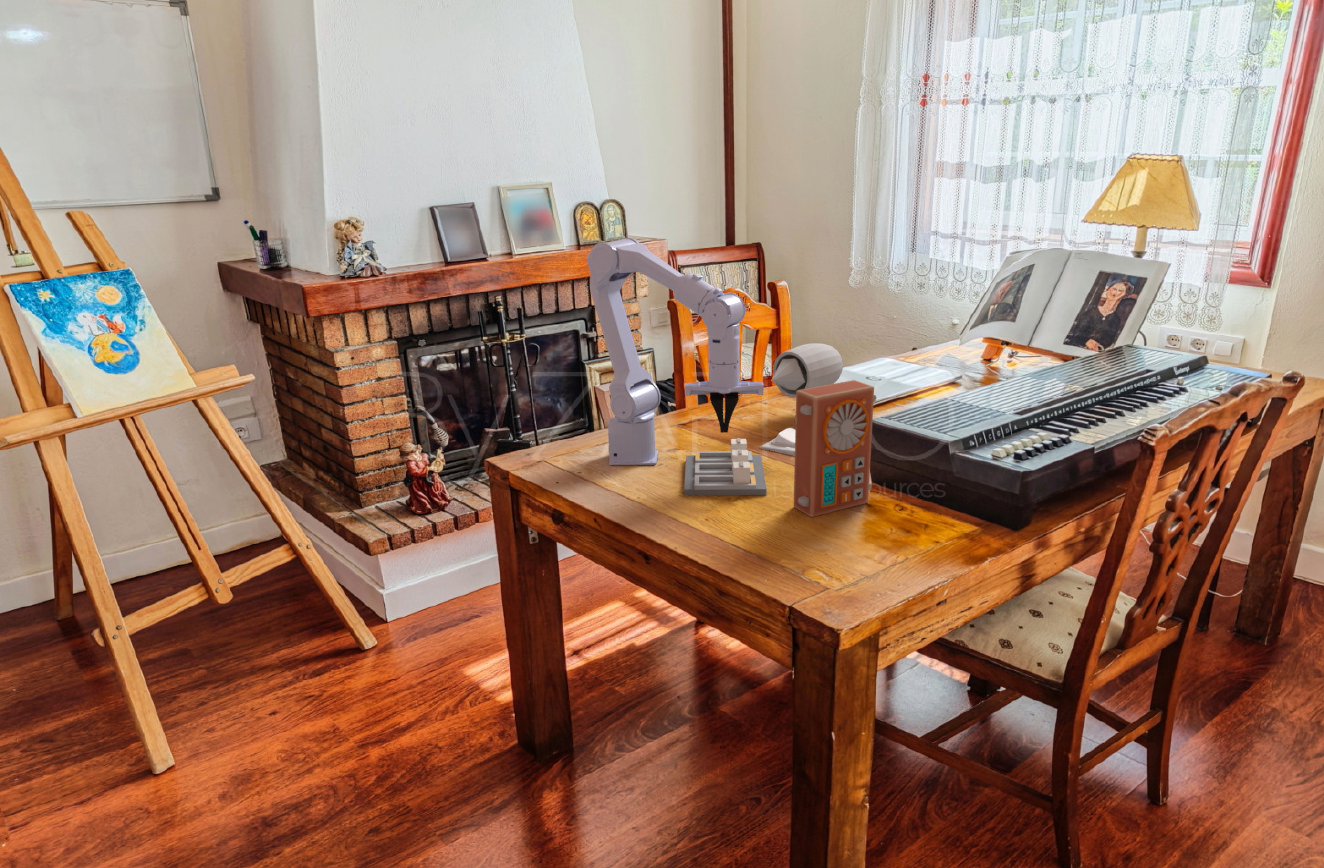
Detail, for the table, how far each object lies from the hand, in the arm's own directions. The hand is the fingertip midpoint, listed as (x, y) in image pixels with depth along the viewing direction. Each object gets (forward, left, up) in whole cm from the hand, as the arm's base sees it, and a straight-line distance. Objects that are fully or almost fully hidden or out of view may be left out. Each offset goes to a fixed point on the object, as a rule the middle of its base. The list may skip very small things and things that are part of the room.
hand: (724, 430), depth 165 cm
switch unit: (0, 0, -9) cm, 9 cm away
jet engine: (+18, +35, -10) cm, 41 cm away
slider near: (+3, -6, -8) cm, 11 cm away
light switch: (+16, +17, -10) cm, 26 cm away
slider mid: (+3, 0, -8) cm, 9 cm away
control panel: (+18, -14, -10) cm, 25 cm away
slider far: (+3, +6, -8) cm, 11 cm away
